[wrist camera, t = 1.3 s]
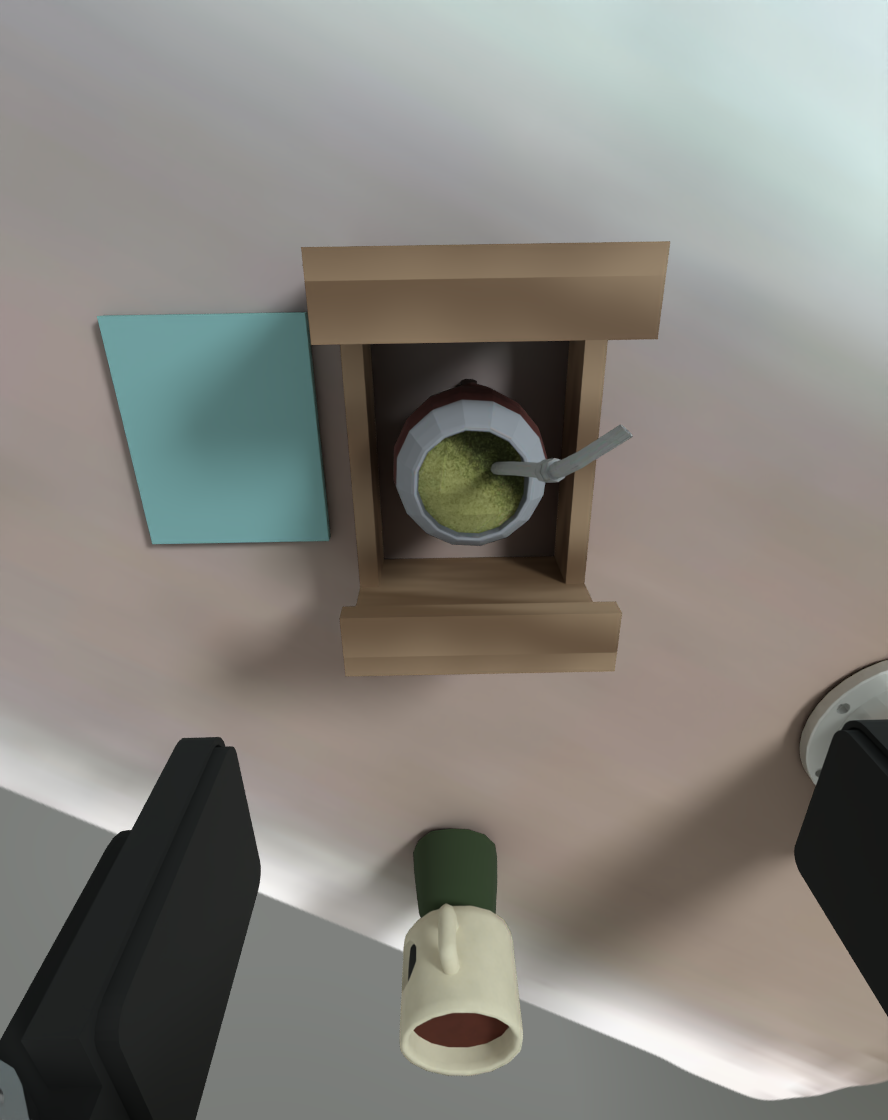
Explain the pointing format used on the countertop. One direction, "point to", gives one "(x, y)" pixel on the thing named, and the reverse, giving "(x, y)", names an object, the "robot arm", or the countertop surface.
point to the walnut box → (558, 581)
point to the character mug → (458, 962)
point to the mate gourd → (478, 464)
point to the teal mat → (221, 425)
